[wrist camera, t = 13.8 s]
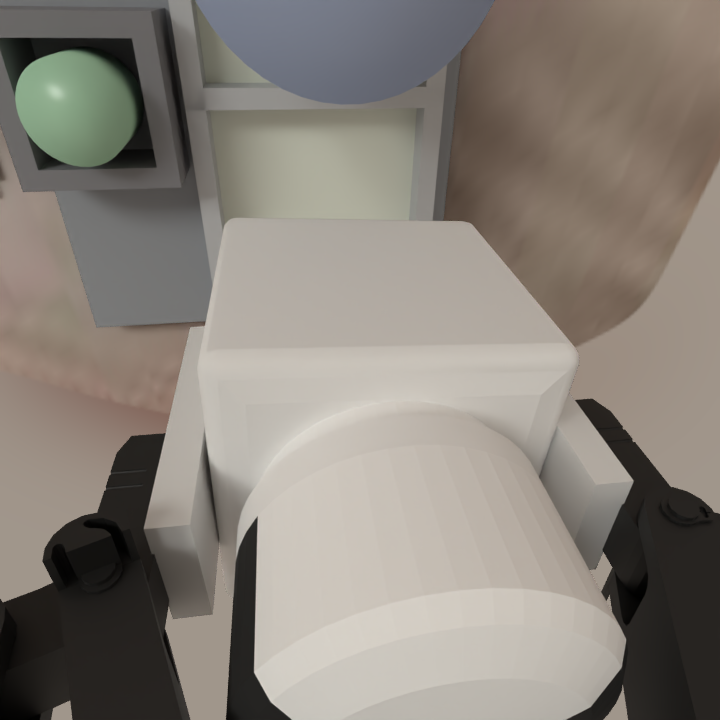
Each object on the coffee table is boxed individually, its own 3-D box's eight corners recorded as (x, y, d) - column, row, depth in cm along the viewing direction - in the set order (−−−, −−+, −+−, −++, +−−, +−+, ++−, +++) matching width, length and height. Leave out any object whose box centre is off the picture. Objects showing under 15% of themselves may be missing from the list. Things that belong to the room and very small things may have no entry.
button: (60, 147, 22) (35, 168, 20) (31, 46, 20) (-1, 54, 18) (152, 145, 23) (138, 166, 20) (133, 46, 21) (114, 55, 18)
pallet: (102, 315, 29) (80, 360, 26) (-82, -308, 17) (-173, -383, 13) (428, 298, 31) (448, 336, 28) (484, -265, 19) (532, -320, 15)
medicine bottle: (438, 407, 20) (601, 818, 10) (238, 414, 19) (204, 881, 9) (473, 217, 16) (802, 594, 6) (222, 213, 15) (131, 661, 5)
